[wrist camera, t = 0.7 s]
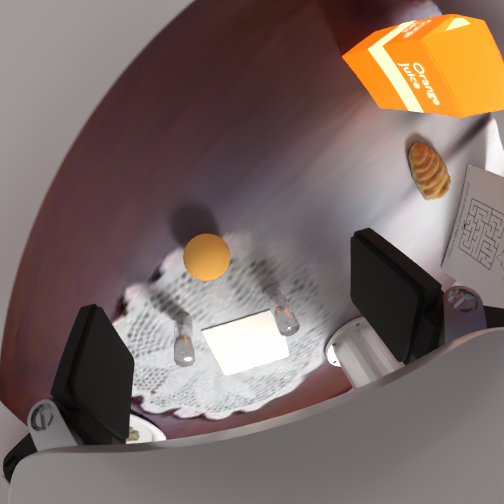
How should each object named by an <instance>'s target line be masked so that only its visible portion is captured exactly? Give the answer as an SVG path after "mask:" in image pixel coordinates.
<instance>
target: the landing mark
mask: <svg viewBox="0 0 504 504" xmlns="http://www.w3.org/2000/svg"><path fill="white" fill-rule="evenodd" d="M202 333H203V335H204V337H205V339H206V340H207V342H208V344H209V346H210V348H211V350H212V352H213V354H214V356H215V358H216V360H217V361H218V363H219V365H220V367H221V369H222V371H223V373H224V374H225V376H226V375H230V374H233V373H237V372H240V371H244V370H247V369H251V368H254V367H257V366H260V365H263V364H267V363H270V362H273V361H276V360H279V359H282V358H285V357H288V356H289V351H288V347H287V343H286V339H285V336H283V335H281V334H280V332H279V330H278V327H277V325H276V323H275V320H274V318H273V315H272V313H271V311H270V310H267V311H264V312H260V313H257V314H254V315H251V316H248V317H245V318H242V319H238V320H235V321H232V322H229V323H225V324H222V325H219V326H215V327H212V328H208V329H205V330H202Z"/></svg>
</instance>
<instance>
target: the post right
mask: <svg viewBox="0 0 504 504" xmlns="http://www.w3.org/2000/svg"><path fill="white" fill-rule="evenodd" d="M264 296H265V298H266V301H267V303H268V306H269V308H270V311H271V313H272V315H273V318H274V320H275V323H276V325H277V327H278V330H279V332H280V334H281V335H283V336H291V335H293V334H295V333H296V332H297V331H298V330H299V327H300V325H299V323H298V321H297V319H296V317H295V315H294V313H293V311H292V309H291V307H290V305H289V303H288V301H287V299H286V297H285V295H284V293H283V291H282V290H281V288H280V286H278V285H270V286H268V287H267V288H266V289H265V291H264Z"/></svg>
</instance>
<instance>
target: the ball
mask: <svg viewBox="0 0 504 504" xmlns="http://www.w3.org/2000/svg"><path fill="white" fill-rule="evenodd" d="M183 260H184V264H185V267H186V269H187V271H188V272H189V273H190V274H191V275H192V276H193V277H195V278H197V279H199V280H203V281H210V280H214V279H217V278H219V277H220V276H221V275H223V274H224V273H225V271H226V270H227V268H228V266H229V263H230V251H229V248H228V246H227V244H226V243H225V242H224V241H223V240H222V239H221V238H220V237H218V236H216V235H214V234H208V233H205V234H200V235H197V236H195V237H194V238H192V239H191V240H190V241H189V242H188V244H187V245H186V247H185V250H184V254H183Z"/></svg>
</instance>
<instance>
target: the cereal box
mask: <svg viewBox="0 0 504 504" xmlns="http://www.w3.org/2000/svg"><path fill="white" fill-rule="evenodd" d="M441 269H442V270H444V271H445V272H446V273H448V274H449V275H450V276H451V277H452V278H454V279H455V280H456V281H457V282H459V283H460V284H461V285H462V286H465V287H468V288H471V289H473V290H474V291H475V292H477V293H478V295H479V296H480V297H481V300H482V302H483V304H484V305H485V306H491V307H498V308H504V177H502V176H499V175H497V174H494V173H492V172H489V171H487V170H484V169H482V168H479V167H476V166H473V165H470V164H469V165H468V166H467V172H466V177H465V183H464V188H463V192H462V197H461V201H460V205H459V209H458V213H457V217H456V221H455V225H454V228H453V232H452V235H451V239H450V242H449V245H448V248H447V251H446V254H445V257H444V260H443V263H442V266H441Z"/></svg>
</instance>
